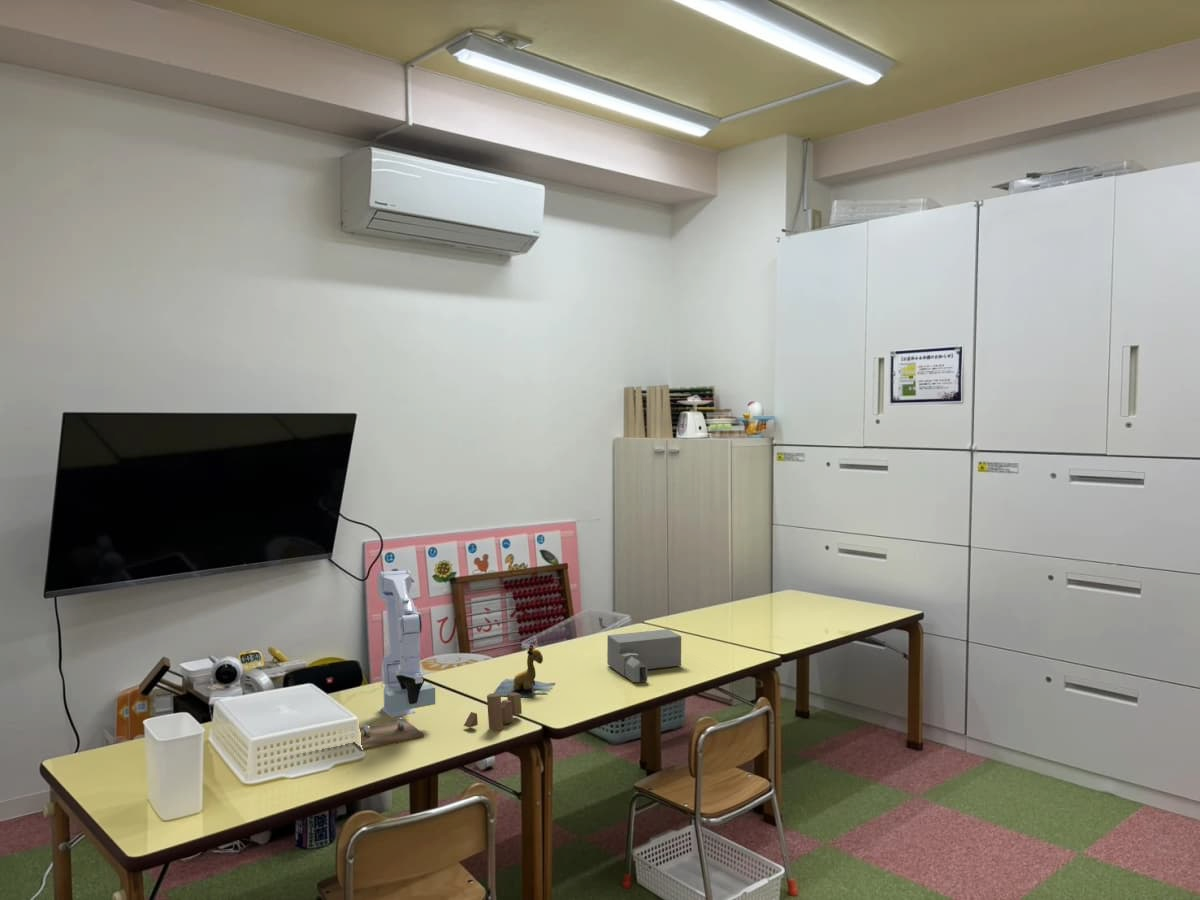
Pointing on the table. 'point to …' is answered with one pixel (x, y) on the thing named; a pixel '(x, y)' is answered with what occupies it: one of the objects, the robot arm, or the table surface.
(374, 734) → the peg plate
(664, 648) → the gray box with nozzle
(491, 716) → the wooden block set
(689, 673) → the table surface
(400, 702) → the blue-grey rectangular block
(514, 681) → the stuffed giraffe
